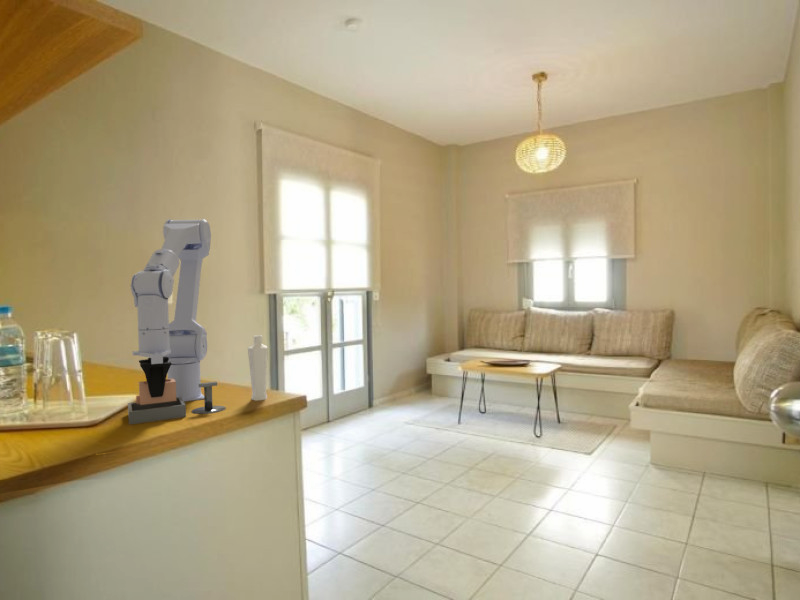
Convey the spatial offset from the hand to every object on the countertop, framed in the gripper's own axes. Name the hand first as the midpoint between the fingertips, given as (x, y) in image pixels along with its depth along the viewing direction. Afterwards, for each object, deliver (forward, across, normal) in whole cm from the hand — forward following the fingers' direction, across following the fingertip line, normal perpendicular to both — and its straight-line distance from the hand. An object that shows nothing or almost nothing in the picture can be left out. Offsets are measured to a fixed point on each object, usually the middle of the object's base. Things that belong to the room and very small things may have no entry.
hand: (156, 394), depth 102 cm
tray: (+5, 0, 0) cm, 5 cm away
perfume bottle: (+5, -4, +22) cm, 23 cm away
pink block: (+1, 0, 0) cm, 1 cm away
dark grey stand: (+5, +1, +10) cm, 11 cm away
